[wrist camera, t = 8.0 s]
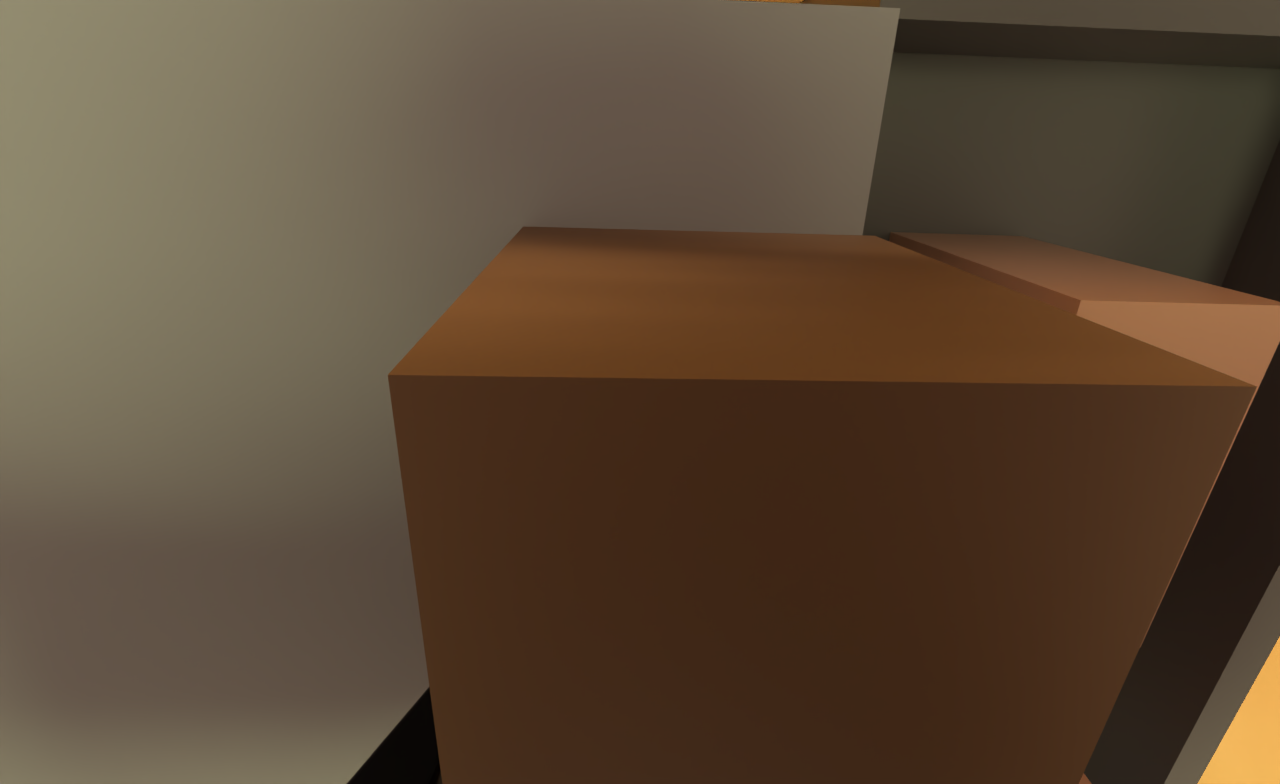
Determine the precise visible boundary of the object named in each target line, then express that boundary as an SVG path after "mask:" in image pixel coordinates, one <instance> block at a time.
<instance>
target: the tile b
mask: <svg viewBox="0 0 1280 784" xmlns="http://www.w3.org/2000/svg"><path fill="white" fill-rule="evenodd" d="M889 242H892V243H894V244H897V245H900V246H902V247H905V248H907V249H910V250H912V251H915V252H917V253H920V254H922V255H925V256H927V257H930V258H932V259H935V260H938V261H940V262H943V263H945V264H948V265H950V266H953V267H955V268H958V269H960V270H963V271H965V272H968V273H970V274H973V275H976V276H978V277H981V278H983V279H986V280H988V281H991V282H993V283H996V284H998V285H1001V286H1003V287H1006V288H1008V289H1011V290H1014V291H1016V292H1019V293H1021V294H1024V295H1026V296H1029V297H1031V298H1034V299H1036V300H1039V301H1041V302H1044V303H1046V304H1049V305H1052V306H1054V307H1057V308H1059V309H1062V310H1064V311H1067V312H1069V313H1072V314H1074V315H1077V316H1079V317H1082V318H1084V319H1087V320H1090V321H1092V322H1095V323H1097V324H1100V325H1102V326H1105V327H1107V328H1110V329H1112V330H1115V331H1117V332H1120V333H1122V334H1125V335H1128V336H1130V337H1133V338H1135V339H1138V340H1140V341H1143V342H1145V343H1148V344H1150V345H1153V346H1155V347H1158V348H1161V349H1163V350H1166V351H1168V352H1171V353H1173V354H1176V355H1178V356H1181V357H1183V358H1186V359H1188V360H1191V361H1193V362H1196V363H1199V364H1201V365H1204V366H1206V367H1209V368H1211V369H1214V370H1216V371H1219V372H1221V373H1224V374H1226V375H1229V376H1231V377H1234V378H1237V379H1239V380H1242V381H1244V382H1247V383H1249V384H1252V385H1254V386H1257V388H1256V390H1255V392H1254V394H1253V397H1252V399H1251V401H1250V403H1249V406H1248V408H1247V410H1246V412H1245V415H1244V417H1243V419H1242V421H1241V423H1240V426H1239V428H1238V430H1237V432H1236V435H1235V437H1234V439H1233V441H1232V443H1231V446H1230V448H1229V450H1228V452H1227V455H1226V457H1225V459H1224V461H1223V464H1222V466H1221V468H1220V470H1219V472H1218V475H1217V477H1216V479H1215V481H1214V484H1213V486H1212V488H1211V490H1210V492H1209V495H1208V497H1207V499H1206V501H1205V504H1206V502H1207V500H1208V498H1209V496H1210V493H1211V491H1212V489H1213V487H1214V485H1215V482H1216V480H1217V478H1218V476H1219V474H1220V471H1221V469H1222V467H1223V465H1224V463H1225V460H1226V458H1227V456H1228V454H1229V452H1230V449H1231V447H1232V445H1233V443H1234V441H1235V438H1236V436H1237V434H1238V432H1239V430H1240V427H1241V425H1242V423H1243V421H1244V419H1245V416H1246V414H1247V412H1248V410H1249V408H1250V405H1251V403H1252V401H1253V399H1254V397H1255V395H1256V392H1257V390H1258V388H1259V386H1260V384H1261V381H1262V379H1263V377H1264V375H1265V373H1266V370H1267V368H1268V366H1269V364H1270V362H1271V359H1272V357H1273V355H1274V353H1275V351H1276V348H1277V346H1278V344H1279V342H1280V302H1279V301H1275V300H1271V299H1267V298H1263V297H1259V296H1255V295H1251V294H1247V293H1243V292H1239V291H1235V290H1231V289H1228V288H1224V287H1220V286H1216V285H1212V284H1208V283H1204V282H1200V281H1196V280H1192V279H1188V278H1184V277H1180V276H1176V275H1173V274H1169V273H1165V272H1161V271H1157V270H1153V269H1149V268H1145V267H1141V266H1137V265H1133V264H1129V263H1125V262H1121V261H1118V260H1114V259H1110V258H1106V257H1102V256H1098V255H1094V254H1090V253H1086V252H1082V251H1078V250H1074V249H1070V248H1067V247H1063V246H1059V245H1055V244H1051V243H1047V242H1043V241H1039V240H1035V239H1031V238H1027V237H1023V236H1000V235H969V234H937V233H905V232H891V234H890V239H889ZM1205 504H1204V506H1203V508H1202V510H1201V513H1202V511H1203V509H1204V507H1205ZM1201 513H1200V515H1201ZM1200 515H1199V517H1198V519H1197V521H1196V524H1197V522H1198V520H1199V518H1200ZM1196 524H1195V526H1196ZM1195 526H1194V528H1193V530H1192V533H1193V531H1194V529H1195ZM1192 533H1191V535H1192ZM1191 535H1190V537H1191ZM1190 537H1189V539H1190ZM1189 539H1188V541H1187V544H1188V542H1189ZM1187 544H1186V546H1187ZM1186 546H1185V548H1186ZM1185 548H1184V550H1185ZM1184 550H1183V553H1184ZM1183 553H1182V555H1183ZM1182 555H1181V557H1182ZM1181 557H1180V559H1181ZM1180 559H1179V561H1180ZM1178 564H1179V562H1178ZM1178 564H1177V566H1178ZM1177 566H1176V568H1177ZM1176 568H1175V570H1176ZM1175 570H1174V572H1175ZM1173 575H1174V573H1173ZM1173 575H1172V577H1173ZM1172 577H1171V579H1172ZM1171 579H1170V581H1171ZM1169 583H1170V582H1169ZM1168 586H1169V584H1168ZM1168 586H1167V588H1168ZM1167 588H1166V590H1167ZM1166 590H1165V592H1166ZM1164 594H1165V593H1164ZM1163 597H1164V595H1163ZM1163 597H1162V599H1163ZM1162 599H1161V601H1162ZM1160 603H1161V602H1160ZM1159 605H1160V604H1159ZM1158 608H1159V606H1158ZM1158 608H1157V610H1158ZM1156 612H1157V611H1156ZM1155 614H1156V613H1155ZM1154 616H1155V615H1154ZM1153 619H1154V617H1153ZM1153 619H1152V621H1153ZM1151 623H1152V622H1151ZM1150 625H1151V624H1150ZM1149 627H1150V626H1149ZM1148 630H1149V628H1148ZM1147 632H1148V631H1147ZM1146 634H1147V633H1146ZM1145 636H1146V635H1145ZM1144 638H1145V637H1144ZM1143 641H1144V639H1143ZM1142 643H1143V642H1142ZM1141 645H1142V644H1141ZM1140 647H1141V646H1140Z"/></svg>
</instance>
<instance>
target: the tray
mask: <svg viewBox="0 0 1280 784" xmlns="http://www.w3.org/2000/svg"><path fill="white" fill-rule="evenodd" d="M800 4H821V5H842V6H864V7H885V8H900V14H899V20H898V26H897V32H896V37H895V43H894V49H893V55H892V61H891V67H890V73H889V79H888V85H887V91H886V97H885V103H884V109H883V115H882V121H881V127H880V133H879V139H878V145H877V151H876V157H875V163H874V169H873V175H872V181H871V187H870V193H869V199H868V205H867V211H866V217H865V223H864V229H863V235H867V236H877V237H879V238H882V239H884V240H887V241H889V239H890V234H891V232H905V233H937V234H969V235H1000V236H1023V237H1027V238H1031V239H1035V240H1039V241H1043V242H1047V243H1051V244H1055V245H1059V246H1063V247H1067V248H1070V249H1074V250H1078V251H1082V252H1086V253H1090V254H1094V255H1098V256H1102V257H1106V258H1110V259H1114V260H1118V261H1121V262H1125V263H1129V264H1133V265H1137V266H1141V267H1145V268H1149V269H1153V270H1157V271H1161V272H1165V273H1169V274H1173V275H1176V276H1180V277H1184V278H1188V279H1192V280H1196V281H1200V282H1204V283H1208V284H1212V285H1216V286H1220V287H1224V288H1228V289H1231V290H1235V291H1239V292H1243V293H1247V294H1251V295H1255V296H1259V297H1263V298H1267V299H1271V300H1275V301H1279V302H1280V0H804V1H802V2H801V3H800ZM1279 636H1280V342H1279V344H1278V346H1277V348H1276V351H1275V353H1274V355H1273V357H1272V359H1271V362H1270V364H1269V366H1268V368H1267V370H1266V373H1265V375H1264V377H1263V379H1262V381H1261V384H1260V386H1259V388H1258V390H1257V392H1256V395H1255V397H1254V399H1253V401H1252V403H1251V405H1250V408H1249V410H1248V412H1247V414H1246V416H1245V419H1244V421H1243V423H1242V425H1241V427H1240V430H1239V432H1238V434H1237V436H1236V438H1235V441H1234V443H1233V445H1232V447H1231V449H1230V452H1229V454H1228V456H1227V458H1226V460H1225V463H1224V465H1223V467H1222V469H1221V471H1220V474H1219V476H1218V478H1217V480H1216V482H1215V485H1214V487H1213V489H1212V491H1211V493H1210V496H1209V498H1208V500H1207V502H1206V504H1205V507H1204V509H1203V511H1202V513H1201V515H1200V518H1199V520H1198V522H1197V524H1196V526H1195V529H1194V531H1193V533H1192V535H1191V537H1190V539H1189V542H1188V544H1187V546H1186V548H1185V550H1184V553H1183V555H1182V557H1181V559H1180V561H1179V564H1178V566H1177V568H1176V570H1175V572H1174V575H1173V577H1172V579H1171V581H1170V583H1169V586H1168V588H1167V590H1166V592H1165V594H1164V597H1163V599H1162V601H1161V603H1160V605H1159V608H1158V610H1157V612H1156V614H1155V616H1154V619H1153V621H1152V623H1151V625H1150V627H1149V630H1148V632H1147V634H1146V636H1145V638H1144V641H1143V643H1142V645H1141V647H1140V648H1139V651H1138V653H1137V655H1136V657H1135V660H1134V662H1133V664H1132V666H1131V668H1130V671H1129V673H1128V675H1127V677H1126V680H1125V682H1124V684H1123V686H1122V688H1121V691H1120V693H1119V695H1118V697H1117V700H1116V702H1115V704H1114V706H1113V709H1112V711H1111V713H1110V715H1109V717H1108V720H1107V722H1106V724H1105V726H1104V729H1103V731H1102V733H1101V735H1100V738H1099V740H1098V742H1097V744H1096V746H1095V749H1094V751H1093V753H1092V755H1091V758H1090V760H1089V762H1088V764H1087V766H1086V769H1085V771H1084V774H1085V775H1086V777H1087V778H1088V779H1089V781H1090V782H1091V783H1092V784H1197V783H1198V781H1199V780H1200V778H1201V776H1202V774H1203V773H1204V771H1205V769H1206V767H1207V765H1208V764H1209V762H1210V760H1211V758H1212V756H1213V755H1214V753H1215V751H1216V749H1217V747H1218V746H1219V744H1220V742H1221V740H1222V739H1223V737H1224V735H1225V733H1226V731H1227V730H1228V728H1229V726H1230V724H1231V722H1232V721H1233V719H1234V717H1235V715H1236V713H1237V712H1238V710H1239V708H1240V706H1241V704H1242V703H1243V701H1244V699H1245V697H1246V696H1247V694H1248V692H1249V690H1250V688H1251V687H1252V685H1253V683H1254V681H1255V679H1256V678H1257V676H1258V674H1259V672H1260V670H1261V669H1262V667H1263V665H1264V663H1265V661H1266V660H1267V658H1268V656H1269V654H1270V653H1271V651H1272V649H1273V647H1274V645H1275V644H1276V642H1277V640H1278V638H1279Z"/></svg>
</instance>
